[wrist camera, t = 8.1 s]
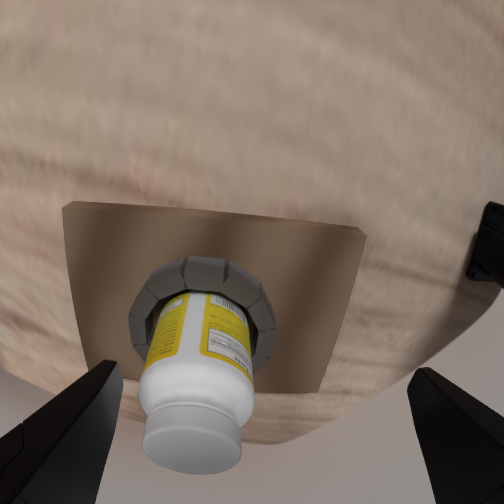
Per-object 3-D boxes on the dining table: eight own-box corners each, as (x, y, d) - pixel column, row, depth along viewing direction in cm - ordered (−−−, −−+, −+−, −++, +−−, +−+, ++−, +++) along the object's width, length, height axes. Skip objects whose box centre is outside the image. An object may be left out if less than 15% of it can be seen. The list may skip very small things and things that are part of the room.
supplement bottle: (167, 349, 20) (139, 475, 11) (158, 279, 18) (106, 407, 9) (247, 351, 21) (256, 482, 11) (249, 280, 18) (263, 416, 9)
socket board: (357, 227, 19) (380, 248, 16) (313, 379, 24) (322, 411, 21) (73, 201, 17) (45, 217, 14) (94, 359, 22) (80, 388, 19)
